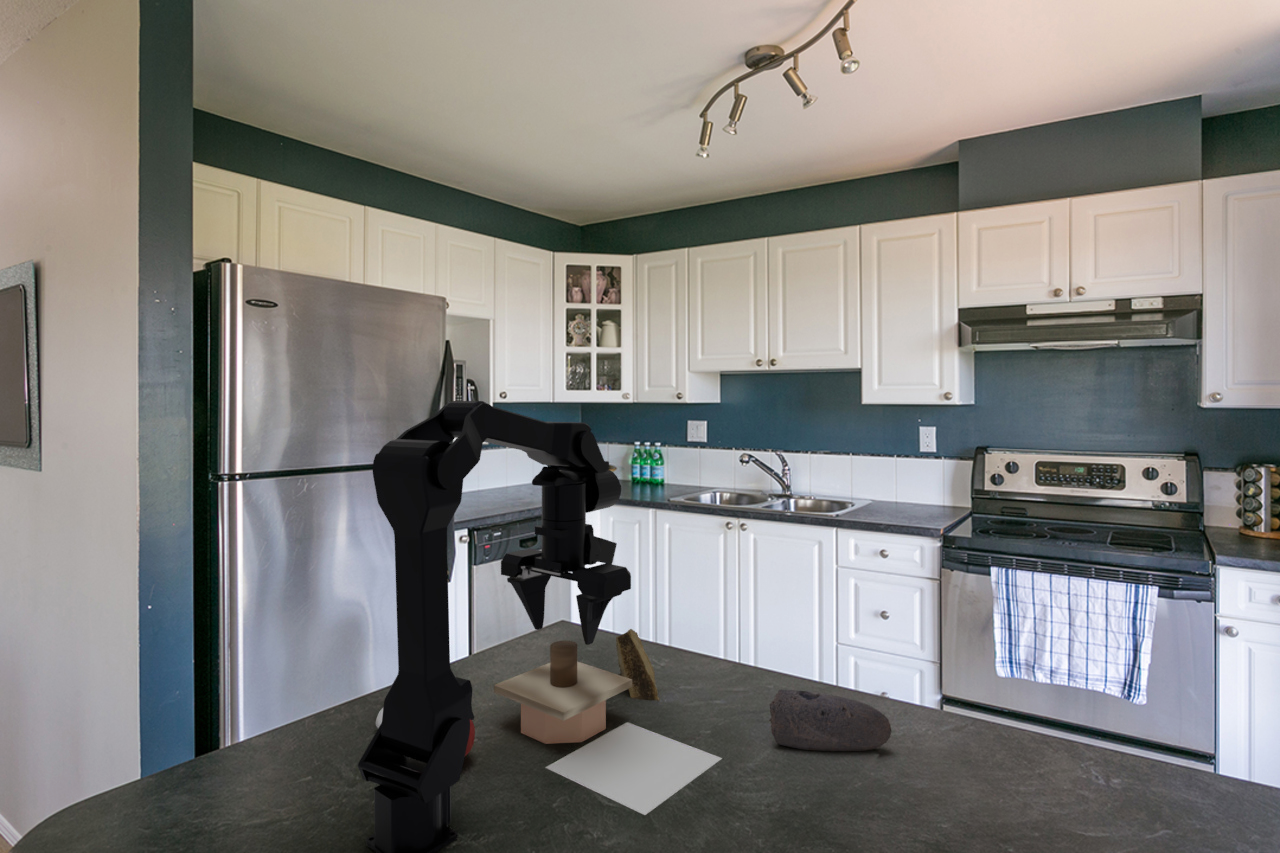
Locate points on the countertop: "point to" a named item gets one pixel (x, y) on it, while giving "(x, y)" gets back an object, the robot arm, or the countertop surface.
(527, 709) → the octagonal clay planter
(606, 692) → the board
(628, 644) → the rock
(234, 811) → the countertop surface
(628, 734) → the mat
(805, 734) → the perforated stone tool
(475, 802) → the countertop surface
